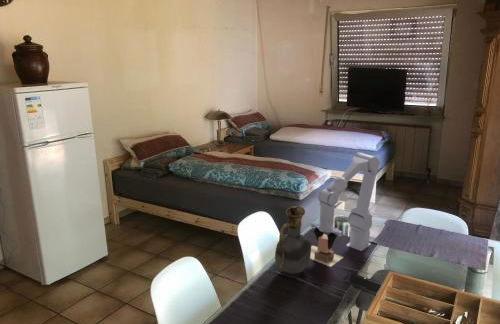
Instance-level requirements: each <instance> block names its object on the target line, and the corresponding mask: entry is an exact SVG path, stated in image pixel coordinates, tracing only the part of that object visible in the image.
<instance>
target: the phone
mask: <svg viewBox="0 0 500 324" xmlns="http://www.w3.org/2000/svg"><path fill="white" fill-rule="evenodd" d="M348 276H350V278H349V281H348V282H347V281H345V280H346V279H347V278H348ZM364 277H365V276H362V275H359V274H356V273H353V272H349V273H348V274H347V275H346V276H345V277H344V279H343V280H342V281H343V282H344V283H346V284H348V285H352V286H353V287H354V288H357V289H358V290H362V291H364V292H367V293H371V294H373V295H376V293H377V291H378V290H379V288H380V286H381V284H382V283H383V282H380V281H377V280H374V279H372V278H368V277H365V278H366V279H364Z"/></svg>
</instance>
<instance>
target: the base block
mask: <svg viewBox="0 0 500 324" xmlns="http://www.w3.org/2000/svg"><path fill="white" fill-rule="evenodd" d="M334 254H335V251H333V250H331V251H329V252H328V253H324V252H322V251H319V250H317V251H316V252H315V257H314V258H315V259H318V260H320V261H323V262H325V263H327V262H329V261H330V260H331V259H333V258H334Z"/></svg>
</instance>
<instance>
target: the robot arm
mask: <svg viewBox="0 0 500 324" xmlns="http://www.w3.org/2000/svg"><path fill="white" fill-rule="evenodd" d="M351 159H352V160H351V164H350V165H349V166H348V167H347V168H346V170H345V171H344V173H343V174H342V175H341V176H337V177H336V178H334V180H333V181H332V182H331V183H330V184H329V185H328V186H327V187H326V188H324V189H322V190H320V192H319V194H318V195H317V199H318V201H319V206H320V208H319V209H320V212H319V222H317V221H311V222H310V228H314V229H313V233H314V235H315V237H316V241H317V242H318V237H320V236H321V235H323V234H325V232H326V233H328V234H326V235H327V237H328V249H331V248H332V249H333V246H334V242H335V240H336V239H337V237H338V238H340V237H342V236H343V230H340V229H338V228H337V227H334V219H335V217H334V216H335V205H336V204H337V203H338V202H339V198H340V196H341V194H342V193H343V192H344V191H345V190H346V189H347V187H348V182H349V181H350V180H351V179H353V178H354V177H355V176H356V175H357V174H358V173H359V172H362V173H363V177H362V181H361V184H360V185H361V186H360V189H359V194H358V198H357V202H356V207H354V208H352V209H351V210H350V213H349V215H348V216H347V222H348V225H349V227H350V235H349V237H350V238H349V242H348V243H347V244H346V246H347V247H350V248H352V249H355V250H357V251H360V252H361V251H364V250H366V249H367V248H368V247H370V246H371V242H370V235H371V231H370V230H371V228H372V225H373V220H372V219H373V214H372V213H371V212H370V210H369V209H370V208H369V207H370V203H371V199H372V195H373V190H374V187H375V182H376V177H377V175H378V172H379V168H380V163H381V161H380V159H379V158H378V156H376V155H370V154H366V153H364V152H361V151H358V152H357V153H355V155H354V156H353V157H352V158H351Z"/></svg>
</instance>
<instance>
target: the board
mask: <svg viewBox="0 0 500 324" xmlns="http://www.w3.org/2000/svg"><path fill="white" fill-rule="evenodd" d="M317 250H318V246H315V245H311V255H310V260H312V261H315V262H317V263H320V264H322V265H325V266H327V267H330V268H332V267H333V266H334V265H336V264H337V263H338V262H340V261H341V260H342V259H344V256H342V255H339V254H338V253H337V254H336V253H334V258H333V259H331V260H330V261H329V262H327V263H325V262H323V261H320V260H318V259H315V258H314V257H315V252H316V251H317Z"/></svg>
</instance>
